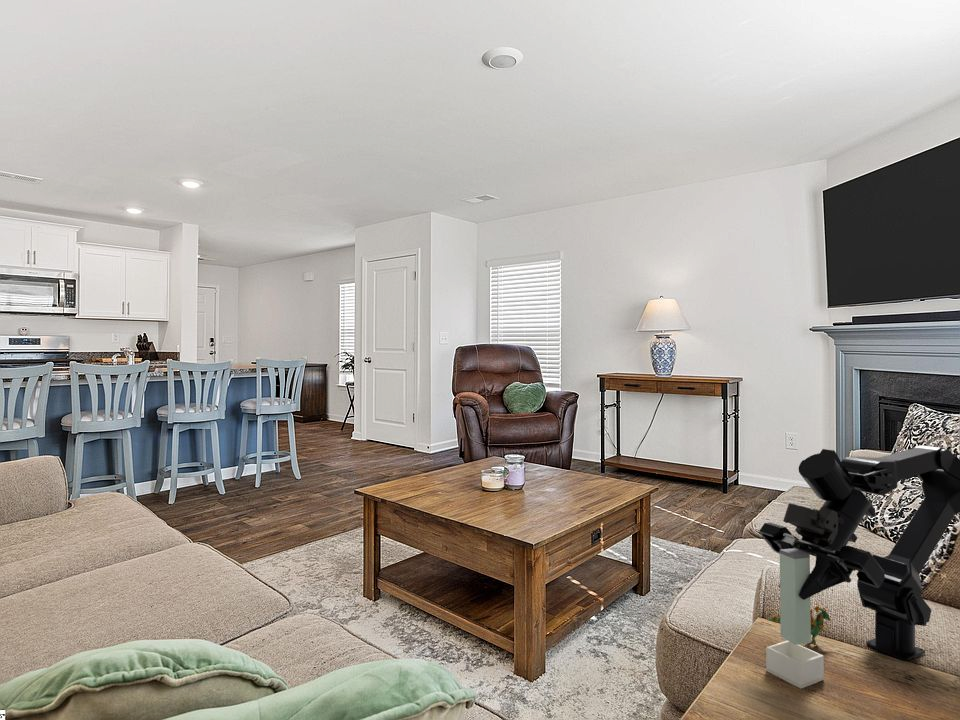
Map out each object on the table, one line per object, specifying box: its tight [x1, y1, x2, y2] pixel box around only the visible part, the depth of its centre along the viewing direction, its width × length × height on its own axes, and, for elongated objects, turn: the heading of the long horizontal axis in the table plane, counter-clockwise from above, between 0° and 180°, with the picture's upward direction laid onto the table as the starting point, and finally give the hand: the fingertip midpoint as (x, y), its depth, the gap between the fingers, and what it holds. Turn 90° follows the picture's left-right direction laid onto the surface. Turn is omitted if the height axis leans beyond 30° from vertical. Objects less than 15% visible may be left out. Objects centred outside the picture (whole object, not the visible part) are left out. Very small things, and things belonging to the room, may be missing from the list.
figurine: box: [767, 605, 831, 647], centre depth 99 cm, size 3×12×8 cm, turn 96°
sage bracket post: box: [779, 548, 812, 645], centre depth 89 cm, size 3×3×14 cm
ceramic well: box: [765, 640, 825, 689], centre depth 89 cm, size 6×6×4 cm
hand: (791, 593), depth 89 cm, fingers closed on sage bracket post, 3 cm apart
